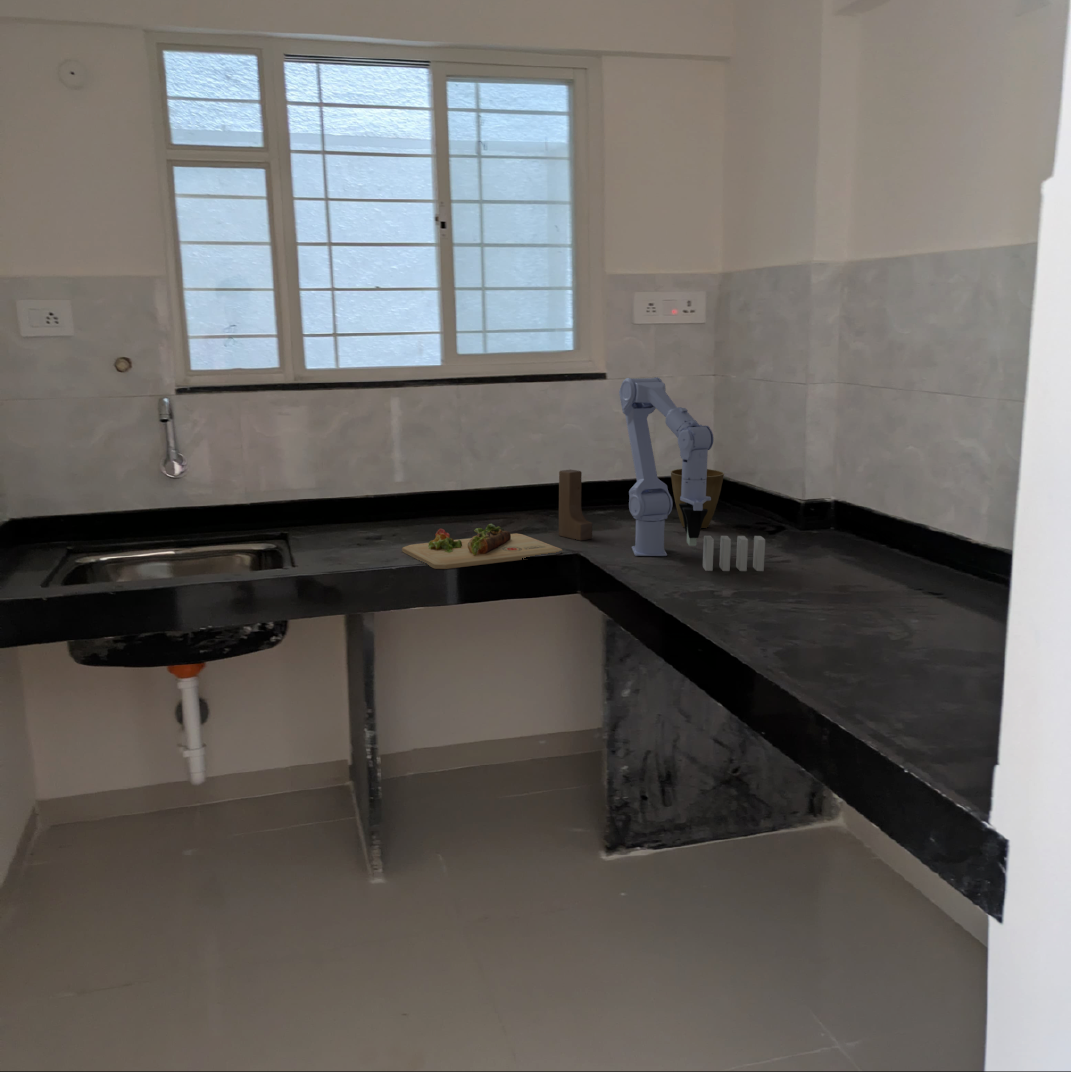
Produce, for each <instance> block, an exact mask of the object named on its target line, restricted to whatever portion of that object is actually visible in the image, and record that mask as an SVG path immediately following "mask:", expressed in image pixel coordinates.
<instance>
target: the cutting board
mask: <svg viewBox="0 0 1071 1072" xmlns="http://www.w3.org/2000/svg"><path fill="white" fill-rule="evenodd" d="M473 531H474V532H475V533H476V534H477V535H474V536H472V537H469V538H461V539H453V538H451V536H450V533H449V532H446V531H445V529H443V528H439V529H437V531H436V533H435V538H434V539H433V540H430V541H429V542H424V543H414V544H409V545H405V546H403V547H402V548H401V549H402V553H404V554H406V555H408V556H410V557H411V558H414V560H417V561H419V560H420V561H419V562H421V561H423V562H425V563H427V564H428V565H429V566H428V565H427V566H428V567H431V568H432V569H435V570H436V569H437V570H446V569H447V570H449V569H456V568H465V567H472V566H480V565H490V564H498V563H506V562H514V561H523V560H525V559H524V558H526V557H530V556H535V555H541V554H548V553H556V552H559V551H562V552H563V549H562V548H559V547H557V546H554V545H552V544H549V543H546V542H544V541H542V540H539V539H536V538H534V537H531V536H527V535H525V534H522V533H511V532H510V531H508V530H505V529H504V528H502V527H501V526H496V525H495V524H493V523H489V524H487V526H486V527H485V529H484V528H482V527H481V528H480V527H478V528H475V529H474V530H473ZM522 558H523V560H522ZM423 562H422V563H423ZM425 563H424V564H425Z"/></svg>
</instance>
